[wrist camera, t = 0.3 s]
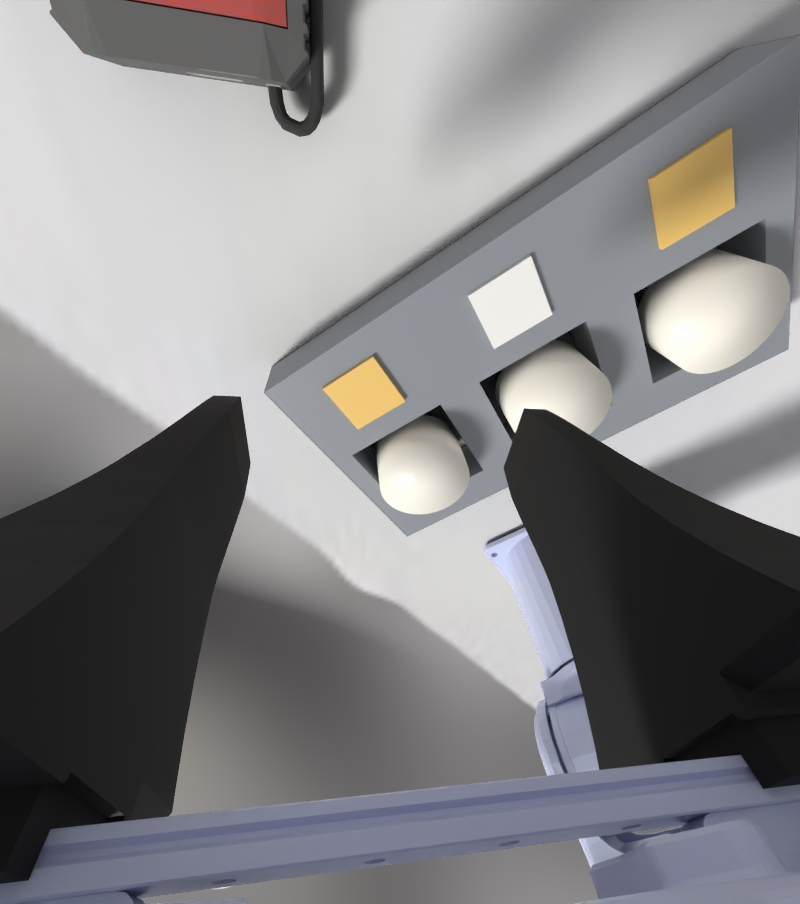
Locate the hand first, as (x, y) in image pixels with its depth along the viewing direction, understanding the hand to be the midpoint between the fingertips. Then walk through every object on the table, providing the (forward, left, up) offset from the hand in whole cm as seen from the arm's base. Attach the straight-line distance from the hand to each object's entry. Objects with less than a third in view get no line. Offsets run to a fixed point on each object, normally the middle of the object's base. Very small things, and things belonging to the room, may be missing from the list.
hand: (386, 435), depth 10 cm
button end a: (-7, +2, -8) cm, 11 cm away
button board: (-6, -5, -10) cm, 12 cm away
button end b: (-7, -12, -8) cm, 16 cm away
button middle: (-7, -5, -8) cm, 12 cm away
